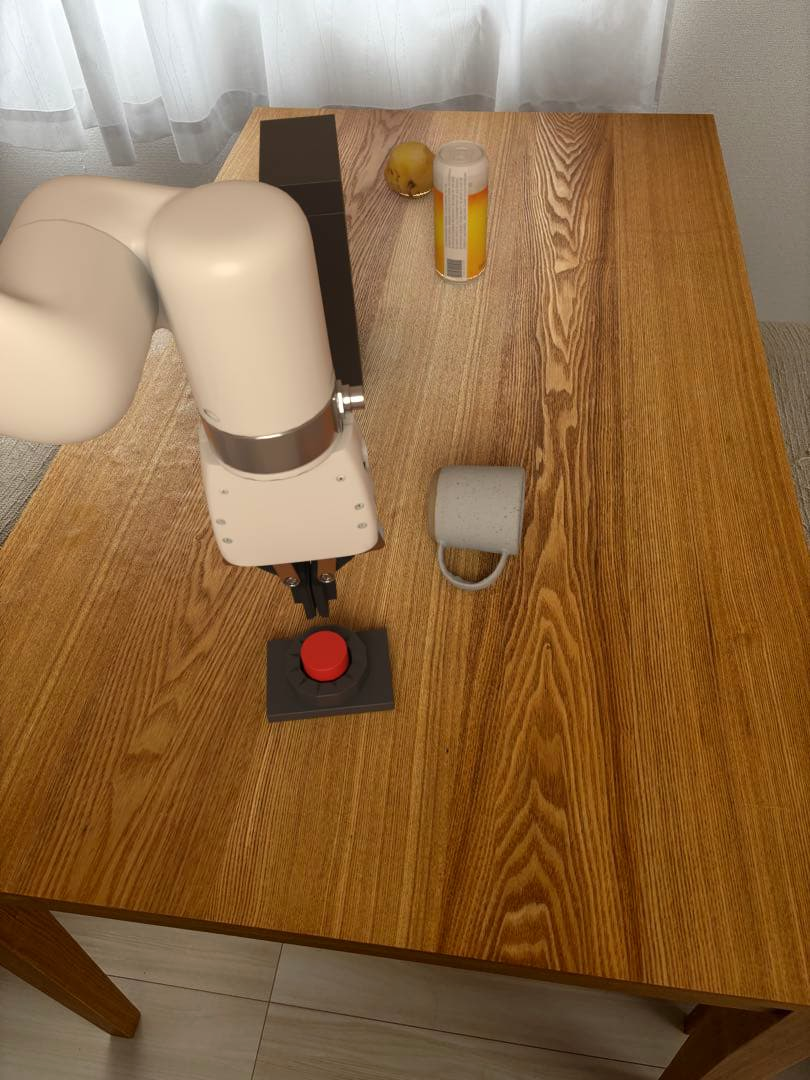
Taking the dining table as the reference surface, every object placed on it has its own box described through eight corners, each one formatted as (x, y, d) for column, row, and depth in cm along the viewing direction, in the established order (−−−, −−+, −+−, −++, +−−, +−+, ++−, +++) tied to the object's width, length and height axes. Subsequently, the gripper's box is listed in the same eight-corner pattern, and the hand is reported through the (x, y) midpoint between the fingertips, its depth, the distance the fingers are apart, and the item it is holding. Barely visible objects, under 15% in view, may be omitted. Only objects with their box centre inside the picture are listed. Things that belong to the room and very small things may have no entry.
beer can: (487, 258, 106) (491, 138, 95) (483, 288, 103) (487, 167, 91) (438, 256, 107) (436, 137, 95) (432, 286, 103) (429, 165, 92)
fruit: (436, 173, 109) (448, 132, 114) (383, 157, 108) (397, 117, 114) (425, 220, 114) (436, 179, 120) (374, 205, 114) (388, 165, 120)
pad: (268, 723, 68) (262, 705, 66) (269, 648, 73) (262, 628, 71) (394, 710, 69) (392, 691, 66) (387, 635, 73) (385, 615, 71)
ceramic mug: (437, 499, 82) (435, 442, 76) (524, 506, 81) (529, 449, 75) (422, 591, 76) (418, 537, 70) (515, 600, 75) (520, 546, 69)
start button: (304, 684, 68) (301, 672, 66) (303, 644, 70) (300, 632, 68) (350, 679, 68) (347, 667, 66) (347, 640, 70) (345, 628, 69)
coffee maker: (204, 409, 92) (139, 198, 73) (209, 337, 99) (152, 129, 80) (364, 393, 92) (340, 179, 73) (357, 323, 100) (334, 113, 81)
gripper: (399, 355, 50) (415, 549, 65) (143, 383, 50) (216, 571, 65) (412, 447, 46) (426, 634, 60) (130, 478, 45) (211, 658, 60)
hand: (317, 601), depth 62 cm, fingers closed
